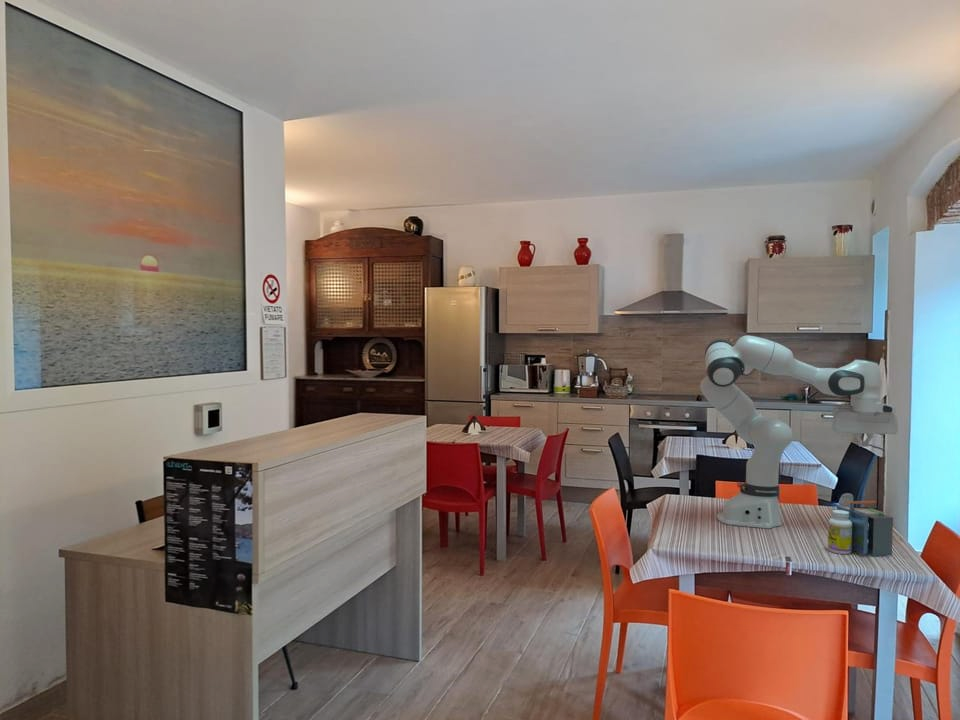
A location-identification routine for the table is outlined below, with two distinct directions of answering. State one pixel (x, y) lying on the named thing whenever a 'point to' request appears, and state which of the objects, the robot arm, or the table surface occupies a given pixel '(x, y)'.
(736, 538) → the table surface
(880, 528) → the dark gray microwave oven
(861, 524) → the gauge plunger
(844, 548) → the supplement bottle
